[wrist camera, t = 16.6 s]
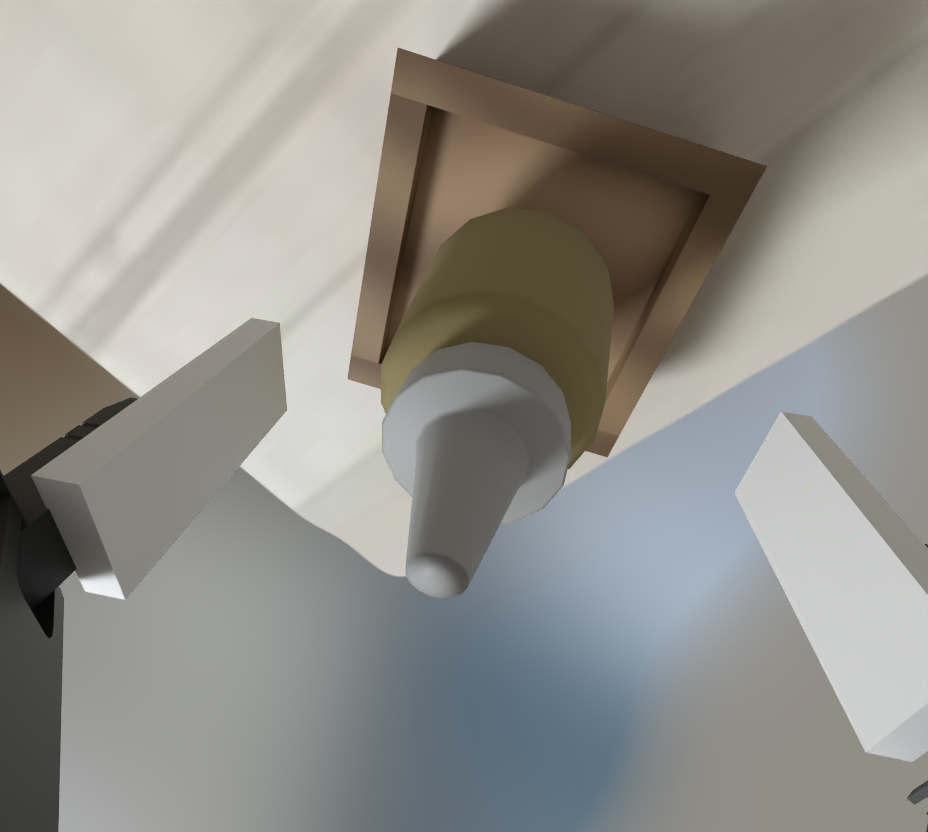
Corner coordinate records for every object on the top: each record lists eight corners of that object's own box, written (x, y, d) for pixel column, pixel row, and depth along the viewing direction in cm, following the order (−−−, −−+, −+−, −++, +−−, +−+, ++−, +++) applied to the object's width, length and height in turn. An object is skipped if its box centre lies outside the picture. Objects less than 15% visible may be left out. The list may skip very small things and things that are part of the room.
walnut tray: (433, 64, 25) (397, 47, 19) (711, 154, 25) (766, 166, 19) (383, 330, 33) (347, 378, 27) (595, 394, 33) (607, 457, 27)
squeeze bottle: (567, 157, 21) (557, 267, 6) (633, 322, 24) (742, 682, 9) (411, 246, 24) (134, 470, 9) (487, 381, 27) (380, 720, 12)
